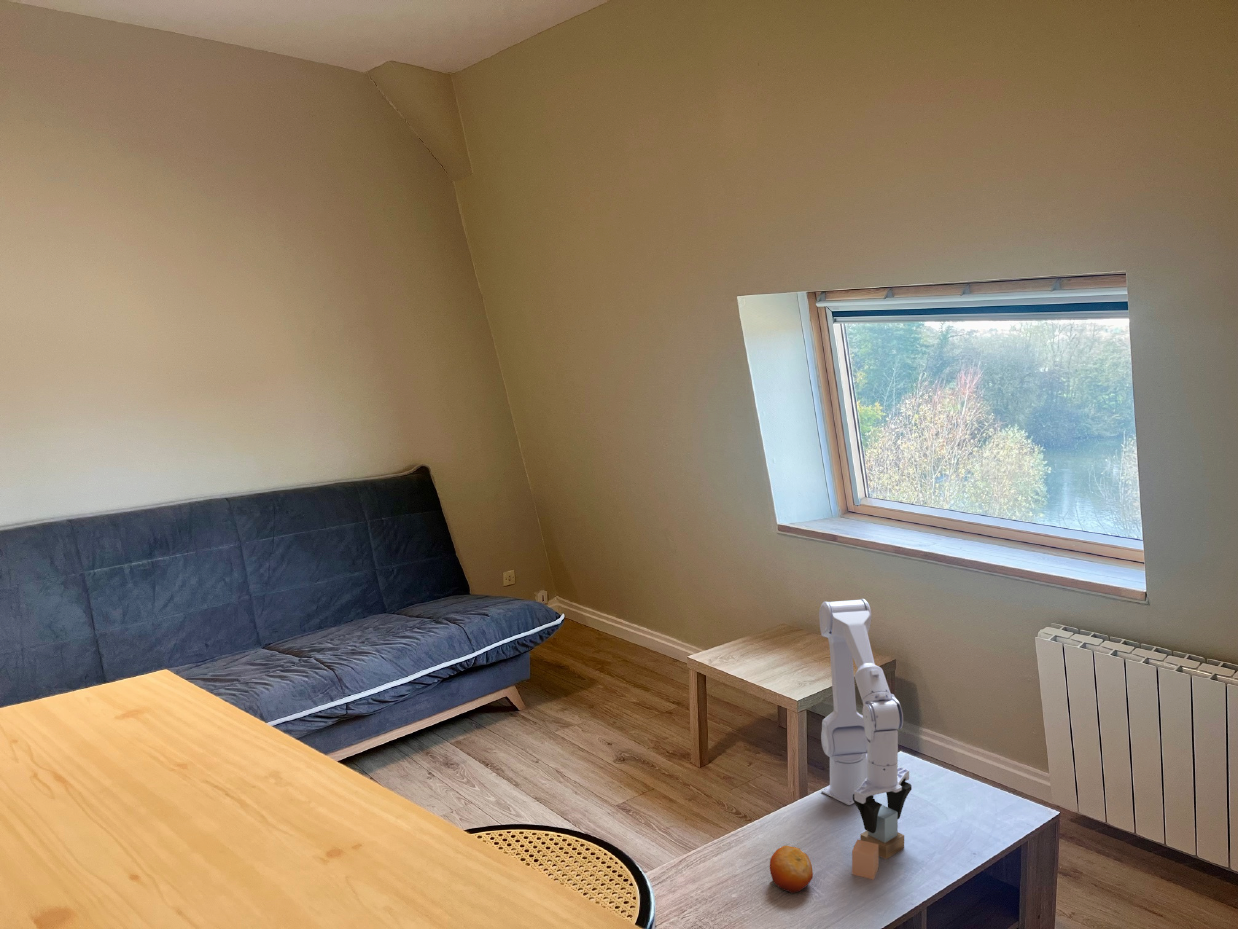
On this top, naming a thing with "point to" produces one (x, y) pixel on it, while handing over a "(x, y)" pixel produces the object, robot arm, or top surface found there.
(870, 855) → the terracotta block
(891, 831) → the grayish teal block
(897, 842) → the walnut block
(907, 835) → the top surface
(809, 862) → the fruit
